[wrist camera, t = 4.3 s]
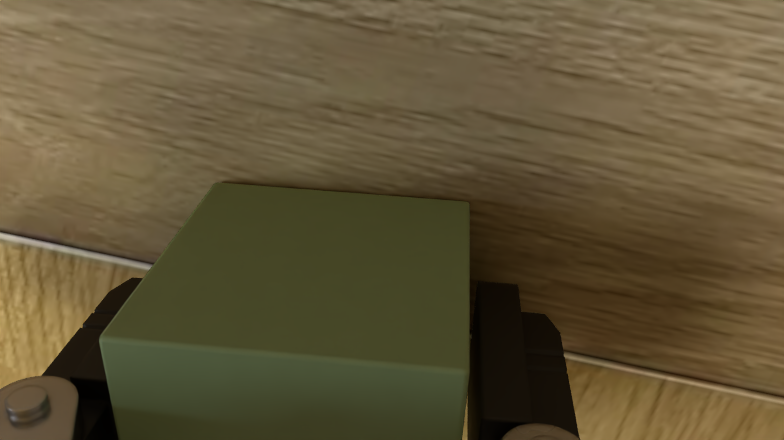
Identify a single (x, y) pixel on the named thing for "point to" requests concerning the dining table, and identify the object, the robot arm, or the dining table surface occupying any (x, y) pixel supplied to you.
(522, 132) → the dining table surface
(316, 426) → the block
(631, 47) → the dining table surface
